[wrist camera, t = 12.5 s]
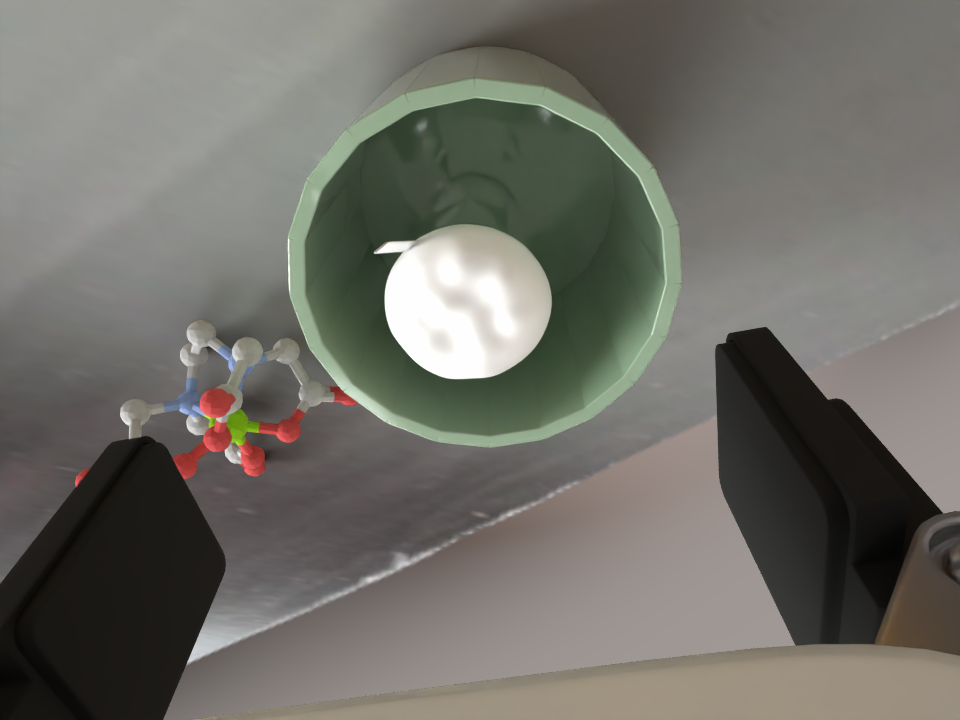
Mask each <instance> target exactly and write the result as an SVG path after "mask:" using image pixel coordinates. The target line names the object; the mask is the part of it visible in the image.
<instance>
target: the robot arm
mask: <svg viewBox="0 0 960 720" xmlns="http://www.w3.org/2000/svg"><path fill="white" fill-rule="evenodd" d="M715 360H716V393H717V426H718V459H719V478H720V484H721V488H722V491H723V494H724V497H725V499H726V501H727V503H728V505H729V508H730V510H731V512H732V514H733V516H734V518H735V520H736V522H737V524H738V526H739V528H740V530H741V533H742V535H743V537H744V539H745V541H746V543H747V545H748V547H749V549H750V551H751V553H752V556H753V558H754V560H755V562H756V564H757V565H758V568H759V570H760V572H761V574H762V576H763V578H764V581H765V583H766V585H767V587H768V589H769V591H770V593H771V595H772V597H773V599H774V601H775V603H776V606H777V608H778V610H779V612H780V614H781V616H782V618H783V620H784V622H785V624H786V626H787V629H788V631H789V633H790V635H791V637H792V639H793V641H794V643H795V645H796V646H785V647H770V648H756V649H745V650H736V651H727V652H717V653H708V654H699V655H690V656H681V657H672V658H665V659H655V660H645V661H636V662H629V663H620V664H612V665H605V666H597V667H589V668H580V669H573V670H565V671H557V672H549V673H541V674H533V675H526V676H518V677H510V678H502V679H494V680H486V681H478V682H471V683H463V684H455V685H447V686H440V687H432V688H424V689H417V690H410V691H401V692H394V693H386V694H379V695H371V696H364V697H356V698H349V699H341V700H333V701H326V702H319V703H311V704H304V705H297V706H289V707H281V708H274V709H267V710H259V711H252V712H244V713H237V714H230V715H222V716H215V717H208V718H201V719H194V720H960V511H954V512H949V513H944V514H943V513H942V512H941V510H940V509H939V508H938V507H937V506H936V505H935V503H934V502H933V501H932V500H931V499H930V498H929V497H928V496H927V494H926V493H925V492H924V491H923V490H922V488H921V487H920V486H919V485H918V484H917V483H916V482H915V481H914V480H913V478H912V477H911V476H910V475H909V474H908V472H907V471H906V470H905V469H904V468H903V467H902V466H901V464H900V463H899V462H898V461H897V460H896V459H895V458H894V456H893V455H892V454H891V453H890V452H889V451H888V450H887V448H886V447H885V446H884V445H883V444H882V443H881V441H880V440H879V439H878V438H877V437H876V436H875V435H874V433H873V432H872V431H871V430H870V429H869V428H868V427H867V426H866V425H865V423H864V422H863V421H862V420H861V419H860V417H859V416H858V415H857V414H856V413H855V412H854V411H853V409H852V408H851V407H850V406H849V405H848V404H847V403H846V402H844V401H843V400H841V399H837V398H836V399H830V400H828V399H827V398H826V397H825V396H824V395H823V393H822V392H821V391H820V390H819V389H818V387H817V386H816V385H815V384H814V383H813V382H812V380H811V379H810V378H809V377H808V375H807V374H806V373H805V372H804V371H803V369H802V368H801V367H800V366H799V365H798V363H797V362H796V361H795V360H794V359H793V357H792V356H791V355H790V354H789V353H788V351H787V350H786V349H785V348H784V347H783V345H782V344H781V343H780V342H779V341H778V339H777V338H776V337H775V336H774V335H773V333H772V332H771V331H770V330H769V329H768V328H767V327H762V328H756V329H751V330H745V331H739V332H734V333H729V334H728V335H727V339H726V343H723V344H717V346H716V349H715ZM225 567H226V562H225V556H224V553H223V550H222V549H221V547H220V545H219V543H218V541H217V539H216V538H215V536H214V534H213V532H212V530H211V528H210V527H209V525H208V523H207V521H206V519H205V517H204V516H203V514H202V512H201V510H200V508H199V506H198V505H197V503H196V501H195V499H194V497H193V495H192V494H191V492H190V490H189V488H188V486H187V484H186V483H185V481H184V479H183V477H182V475H181V473H180V472H179V470H178V468H177V466H176V464H175V462H174V461H173V459H172V457H171V455H170V453H169V451H168V449H167V448H166V447H165V445H163V444H162V443H159V442H157V443H156V441H155V440H154V439H152V438H151V437H148V436H143V437H137V438H132V439H126V440H120V441H116V442H112V443H111V444H110V445H109V446H108V447H107V448H106V449H105V450H104V452H103V453H102V454H101V456H100V457H99V458H98V459H97V461H96V462H95V463H94V465H93V466H92V467H91V468H90V470H89V471H88V472H87V474H86V475H85V476H84V477H83V479H82V480H81V481H80V482H79V484H78V485H77V486H76V488H75V489H74V490H73V491H72V493H71V494H70V495H69V497H68V498H67V499H66V500H65V502H64V503H63V504H62V506H61V507H60V508H59V509H58V511H57V512H56V513H55V514H54V516H53V517H52V518H51V520H50V521H49V522H48V523H47V525H46V526H45V527H44V529H43V530H42V531H41V532H40V534H39V535H38V536H37V538H36V539H35V540H34V541H33V543H32V544H31V545H30V546H29V548H28V549H27V550H26V552H25V553H24V554H23V555H22V557H21V558H20V559H19V561H18V562H17V563H16V564H15V566H14V567H13V568H12V570H11V571H10V572H9V573H8V575H7V576H6V577H5V578H4V580H3V581H2V582H1V584H0V720H163V718H164V716H165V714H166V711H167V709H168V707H169V704H170V702H171V700H172V697H173V695H174V692H175V690H176V688H177V685H178V683H179V680H180V678H181V676H182V673H183V671H184V669H185V666H186V664H187V661H188V659H189V657H190V654H191V652H192V649H193V647H194V645H195V642H196V640H197V638H198V635H199V633H200V630H201V628H202V626H203V623H204V621H205V619H206V616H207V614H208V611H209V609H210V607H211V604H212V602H213V599H214V597H215V595H216V592H217V590H218V588H219V585H220V583H221V580H222V578H223V576H224V572H225Z"/></svg>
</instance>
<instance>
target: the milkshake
mask: <svg viewBox="0 0 960 720" xmlns="http://www.w3.org/2000/svg"><path fill="white" fill-rule="evenodd" d="M393 252H402V253H401V255H400V256H399V258H398V259H397V261H396V262H395V264H394V265H393V267H392V269H391V271H390V274H389V276H388V279H387V283H386V288H385V312H386V317H387V321H388V325H389V327H390V330H391V332H392V334H393V336H394V337H395V339H396V340H397V341H398V343H399V344H400V345H401V347H402V348H403V349H404V350H405V351H406V353H407V354H408V355H409V356H410V357H411V358H412V359H413V360H414V361H415V362H416V363H418V364H419V365H420V366H421V367H423V368H424V369H426V370H428V371H430V372H432V373H434V374H436V375H438V376H441V377H444V378H449V379H471V378H486V377H492V376H495V375H498V374H500V373H502V372H504V371H506V370H508V369H510V368H511V367H513V366H515V365H516V364H517V363H519V362H520V361H522V360H523V359H524V358H525V357H526V356H527V355H529V354H530V353H531V352H532V350H533V349H534V348H535V347H536V345H537V344H538V343H539V341H540V339H541V338H542V336H543V334H544V332H545V329H546V327H547V324H548V321H549V318H550V314H551V307H552V297H551V290H550V285H549V282H548V279H547V277H546V274H545V272H544V270H543V269H542V267H541V264H540V262H539V260H538V258H537V256H536V254H535V252H534V249H533V247H532V245H531V242H530V239H529V236H528V234H527V231H526V228H525V225H524V222H523V220H522V217H521V214H520V212H519V209H518V206H517V204H516V202H515V201H514V199H513V198H512V197H511V196H510V194H509V193H508V192H507V190H506V189H505V188H504V187H503V185H502V184H501V183H500V181H498V180H494V179H490V178H487V177H483V176H480V175H476V174H473V173H472V174H470V175H467V176H464V177H462V178H459V179H456V180H454V181H451V182H448V183H446V185H445V186H444V188H443V189H442V191H441V193H440V194H439V196H438V197H437V199H436V200H435V202H434V204H433V205H432V207H431V208H430V210H429V212H428V214H427V216H426V218H425V219H424V221H423V223H422V225H421V227H420V228H419V229H418V231H417V232H416V233H415V235H414V236H413V237H412V239H411V240H410V241H387V242H385V243H384V244H383V245H381V246H380V247H379V248H378V249H377V250H375V251H374V254H380V253H393Z"/></svg>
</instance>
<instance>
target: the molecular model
mask: <svg viewBox="0 0 960 720" xmlns="http://www.w3.org/2000/svg"><path fill="white" fill-rule="evenodd" d="M187 338H188V340H189V341H190V342H191V343H187V344H186V345H185V346H183V348H182V350H181V352H180V358H181V360H182V362H183V363H184V365H186V366H188V372H187V382H186V392H183V393H182V394H181V395H180V396H179V397H178V399H177V400H175V401H169V402H163V403H158V404H152V405H148V403H146V402H144V401H143V400H140V399H132V400H129V401H127V402H125V403H124V405H123V406H122V407H121V412H120V416H121V419H122V420H123V421H124V422H125V424H127V425H129V439H132V438H137V437H141V425H143V424H144V423H145V422H147V421H148V420H149V417H150V415H153V414H159V413H164V412H169V411H174V410H180V412H182V413H184V414H186V415H187V414H190V415H189V417H188V419H187V420H186V422H187V428H188V430H189V431H190V432H192V433H193V434H195V435H204V440H203V441H202V442H201V443H200V444H199V445H198V446H197V447H196V448H195V449H193V450H192V451H191V452H190V453H189V454H185V453H183V454H179V455H176V456H175V457H174V458H172V459H173V461H174V462H175V464H176V466H177V468H178V470H179V472H180V473H181V475H182V477H183V479H186V478H189V477H192V476H193V475H194V473H195V472H196V469H197V462H196V461H197V460H199V459H200V458H201V457H202V456H203V455H204V454H205V453H206V452H207V451H208V450H209V449H210V450H211V451H214V452H217V451H223V450H225V455H226V457H227V458H228V459H229V460H230V462H233V463H239V464H240V465H241V466H243V467H244V469H245V472H246V473H247V474H249V475H251V476H258V475H260V474H262V473H263V472H264V470H265V467H266V463H265V460H264V459H265V454H264V451H263V450H262V449H261V448H259V447H257V446H254V445H253V446H251V445H250V443H249V442H248V440H247V439H246V438H245V436H244V435H245V434H246V432H255V433H264V434H273V435H277V437H278V438H279V439H280V440H281V441H283V442H287V443H290V442H293V441H295V440H296V439H297V438H298V437H299V435H300V434H301V429H300V426H299V423H300V421H301V420H302V418H303V416H304V415H305V413H306V411H307V410H308V408H309V406H317V405H319V404H320V403H321V402H342V404H344V405H347V406H351V405H355V404H356V403H357V401H355V400H354V399H353V398H351V397H350V396H348V395H347V394H346V393H344V392H343V391H342V390H341V389H340V387H331V386H323V385H322V384H321V383H319V382H318V381H314V380H313V381H311V380H310V378H309V377H308V375H307V374H306V372H305V370H304V369H303V367H302V366H301V364H300V362H299V361H298V359H297V358H298V357H299V353H300V349H299V346H298V344H297V343H296V342H295V341H294V340H292V339H290V338H284V339H280V340H279V341H278V342H277V343H276V344H275V345H274V347H273V350H270V351H267V352H263V348H262V346H261V343H259V342H258V341H257V340H256V339H254V338H251V337H244V338H242V339H239V340H237V342H236V343H235V345H234V346H233V349H230V348H229V347H228V346H226V345H225V344H224V343H222V342H221V341H220V340H218V339H217V338H216V329H215V328H214V326H213V325H212V324H211V323H209V322H207V321H203V320H197V321H196V322H194V323H192V324H191V325H190V326H189V327H188V329H187ZM207 346H210V347H211V348H213V349H214V350H215V351H216V352H218V353H219V354H220V355H222V356H223V357H224V358H226V359H227V360H228V361H229V364H228V366H229V369H230V371H231V372H232V374H231V376H230V378H229V381H228V383H227V384H222V385H220V386H218V387H216V388H213V389H209V390H207V391H206V392H205V393H204V394H203V395H202V397H201V396H200V395H199V394H198V393H197V392H196V389H197V379H198V369H199V367H200V366H202V365H203V364H204V363H206V361H207V358H208V351H207V349H206V347H207ZM275 359H276V361H278V362H280V363H283V364H289V366H290V368H291V369H292V371H293V373H294V374H295V376H296V378H297V379H298V381H299V383H300V384H301V387H300V391H299V397H300V400H301V402H300V404H299V405H298V407H297V409H296V410H295V412H294V413H293V415H292V416H291V418H290V419H285V420H282V421H281V422H280V423H279V424H271V423H262V422H253V421H248V418H247V416H246V415H245V413H244V412H243V410H241V409H240V408H241V405H242V403H243V395H242V388H243V383H244V378H245V376H246V375H249V374H250V373H251V372H252V371H253V369H254V365H257V364H261V363H264V362H268V361H271V360H275ZM89 470H90V468H88V469H85V470H83V471H82V472H81V473H80V474H79V475H78V476H77V477H76V481H75V485H76V486H77V485H78V484H79V482H80V481H81V480H82V479H83V477H84V476H85V475H86V474H87V472H88V471H89Z"/></svg>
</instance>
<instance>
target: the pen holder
mask: <svg viewBox="0 0 960 720" xmlns="http://www.w3.org/2000/svg"><path fill="white" fill-rule="evenodd" d="M472 173H473V174H476V175H480V176H483V177H487V178H490V179H494V180H498V181H500V183H501V184H502V185H503V187H504V188H505V189H506V190H507V192H508V193H509V194H510V196H511V197H512V198H513V199H514V201H515V202H516V204H517V206H518V209H519V212H520V214H521V217H522V220H523V222H524V225H525V228H526V231H527V234H528V236H529V239H530V242H531V245H532V247H533V249H534V252H535V254H536V256H537V258H538V260H539V262H540V264H541V267H542V269H543V270H544V272H545V274H546V277H547V279H548V282H549V285H550V290H551V297H552V307H551V314H550V318H549V321H548V324H547V327H546V329H545V332H544V334H543V336H542V338H541V339H540V341H539V343H538V344H537V345H536V347H535V348H534V349H533V350H532V352H531V353H530V354H529V355H527V356H526V357H525V358H524V359H523V360H522V361H520V362H519V363H517V364H516V365H515V366H513V367H511V368H510V369H508V370H506V371H504V372H502V373H500V374H498V375H495V376H492V377H486V378H471V379H449V378H444V377H441V376H438V375H436V374H434V373H432V372H430V371H428V370H426V369H424V368H423V367H421V366H420V365H419V364H418V363H416V362H415V361H414V360H413V359H412V358H411V357H410V356H409V355H408V354H407V353H406V351H405V350H404V349H403V348H402V347H401V345H400V344H399V343H398V341H397V340H396V339H395V337H394V336H393V334H392V332H391V330H390V327H389V325H388V321H387V317H386V312H385V288H386V283H387V279H388V276H389V274H390V271H391V269H392V267H393V265H394V264H395V262H396V261H397V259H398V258H399V256H400V255H401V253H402V252H393V253H380V254H374V251H375V250H377V249H378V248H379V247H380V246H381V245H383V244H384V243H385V242H387V241H410V240H411V239H412V237H413V236H414V235H415V233H416V232H417V231H418V229H419V228H420V227H421V225H422V223H423V221H424V219H425V218H426V216H427V214H428V212H429V210H430V208H431V207H432V205H433V204H434V202H435V200H436V199H437V197H438V196H439V194H440V193H441V191H442V189H443V188H444V186H445V185H446V183H448V182H451V181H454V180H456V179H459V178H462V177H464V176H467V175H470V174H472ZM288 269H289V294H290V298H291V301H292V304H293V306H294V309H295V312H296V315H297V317H298V320H299V323H300V325H301V328H302V331H303V333H304V336H305V339H306V341H307V344H308V347H310V350H311V351H312V353H313V354H314V355H315V356H316V358H317V359H318V360H319V362H320V363H321V364H322V365H323V367H324V368H325V369H326V371H327V372H328V373H329V374H330V376H331V377H332V378H333V380H334V381H335V382H336V383H337V385H338V386H339V387H340V389H341V390H342V391H343V392H344V393H346V394H347V395H348V396H350V397H351V398H353V399H354V400H355V401H357V402H358V403H359V404H361V405H362V406H364V407H365V408H366V409H368V410H369V411H371V412H372V413H373V414H375V415H376V416H377V417H379V418H380V419H382V420H383V421H384V422H387V423H388V424H390V425H393V426H396V427H398V428H401V429H404V430H406V431H409V432H412V433H414V434H417V435H420V436H422V437H425V438H428V439H430V440H433V441H438V442H441V443H451V444H461V445H470V446H480V447H490V446H491V447H498V446H505V445H511V444H518V443H524V442H531V441H538V440H543V438H544V439H546V438H548V437H551V436H553V435H555V434H558V433H560V432H562V431H564V430H567V429H569V428H571V427H574V426H576V425H578V424H581V423H583V422H585V421H587V420H590V419H592V418H593V417H595V416H596V415H598V414H599V413H600V412H601V411H602V410H604V409H605V408H606V407H607V406H609V405H610V404H611V403H612V402H614V401H615V400H616V399H617V398H618V397H620V396H621V395H622V394H623V393H625V392H626V391H627V390H628V389H629V388H631V387H632V386H633V385H634V384H635V383H636V382H637V381H638V379H639V378H640V376H641V375H642V373H643V372H644V370H645V369H646V367H647V366H648V364H649V363H650V361H651V360H652V359H653V357H654V356H655V354H656V353H657V351H658V350H659V348H660V347H661V345H662V344H663V342H664V341H665V339H666V337H667V335H668V331H669V328H670V324H671V321H672V317H673V314H674V310H675V307H676V303H677V300H678V296H679V293H680V289H681V286H682V265H681V247H680V230H679V224H678V219H677V217H676V215H675V212H674V210H673V208H672V205H671V203H670V201H669V198H668V196H667V194H666V192H665V189H664V187H663V185H662V182H661V180H660V178H659V175H658V173H657V171H656V168H655V167H654V166H653V164H652V162H651V161H650V160H649V159H648V158H647V157H646V156H645V154H644V153H643V152H642V151H641V150H640V149H639V148H638V146H637V145H636V144H635V143H634V142H633V141H632V140H631V138H630V137H629V136H628V135H627V134H626V133H625V131H624V130H623V129H622V128H621V127H620V126H619V125H618V123H617V122H616V121H615V120H614V119H613V118H612V117H611V115H610V114H609V113H608V112H607V111H606V110H605V109H604V107H603V106H602V105H601V104H600V103H599V102H598V101H597V100H596V99H595V98H594V97H593V96H592V95H591V94H590V93H589V92H588V90H587V89H586V88H585V87H584V86H583V85H582V84H581V83H580V82H579V81H578V80H577V79H576V78H575V77H574V76H573V75H572V74H571V73H569V72H567V71H565V70H563V69H561V68H560V67H558V66H557V65H555V64H553V63H551V62H549V61H547V60H545V59H543V58H541V57H538V56H536V55H534V54H532V53H528V52H525V51H520V50H516V49H510V48H503V47H486V46H481V47H480V46H478V47H472V48H465V49H458V50H455V51H451V52H448V53H445V54H441V55H437V56H434V57H431V58H430V59H428V60H427V61H425V62H423V63H421V64H420V65H418V66H416V67H415V68H413V69H412V70H410V71H409V72H407V73H406V74H404V75H403V76H401V77H400V78H398V79H396V80H395V81H394V82H393V83H391V84H390V85H389V86H388V87H387V88H386V89H385V90H384V91H383V92H382V93H381V94H380V95H379V96H378V97H377V98H376V99H375V100H374V101H373V102H372V103H371V104H370V105H369V106H368V107H367V108H366V109H365V110H364V111H363V112H362V113H361V114H360V115H359V116H358V117H357V118H356V119H355V120H354V121H353V122H352V123H351V124H350V125H349V126H348V127H347V128H346V129H345V131H344V132H343V133H342V134H341V136H340V137H339V138H338V140H337V141H336V142H335V143H334V145H333V146H332V147H331V148H330V150H329V151H328V152H327V153H326V155H325V156H324V157H323V159H322V160H321V161H320V162H319V164H318V165H317V166H316V167H315V169H314V170H313V171H312V173H311V174H310V175H309V176H308V179H307V180H306V182H305V185H304V188H303V191H302V194H301V197H300V200H299V204H298V207H297V210H296V213H295V216H294V219H293V222H292V225H291V228H290V231H289V234H288Z"/></svg>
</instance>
